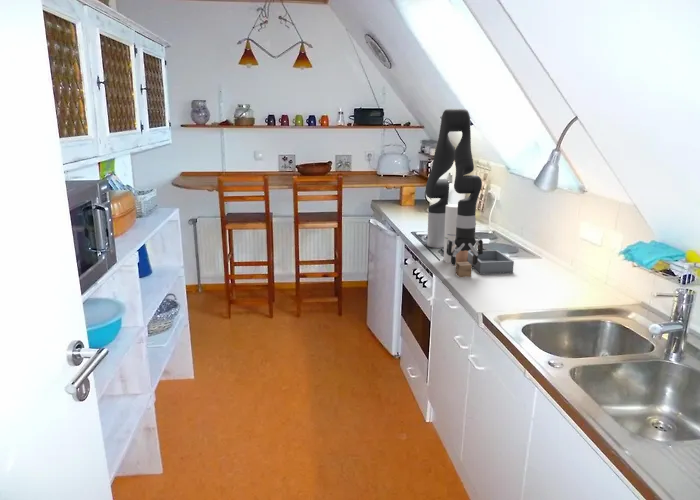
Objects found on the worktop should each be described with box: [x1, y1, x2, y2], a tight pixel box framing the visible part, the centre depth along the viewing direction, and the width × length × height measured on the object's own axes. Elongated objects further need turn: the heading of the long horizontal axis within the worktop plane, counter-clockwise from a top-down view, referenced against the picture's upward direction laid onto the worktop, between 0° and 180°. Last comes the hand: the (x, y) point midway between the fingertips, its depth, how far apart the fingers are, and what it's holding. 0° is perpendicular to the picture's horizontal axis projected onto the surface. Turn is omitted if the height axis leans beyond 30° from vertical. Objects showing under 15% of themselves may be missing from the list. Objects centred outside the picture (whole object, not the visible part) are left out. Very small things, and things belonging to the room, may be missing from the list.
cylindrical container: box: [443, 203, 458, 264], centre depth 219 cm, size 7×7×25 cm
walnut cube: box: [455, 262, 473, 278], centre depth 202 cm, size 5×5×5 cm
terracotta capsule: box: [454, 250, 468, 269], centre depth 210 cm, size 5×5×10 cm
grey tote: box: [468, 249, 515, 275], centre depth 212 cm, size 18×14×5 cm
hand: (463, 264), depth 201 cm, fingers open, 8 cm apart
